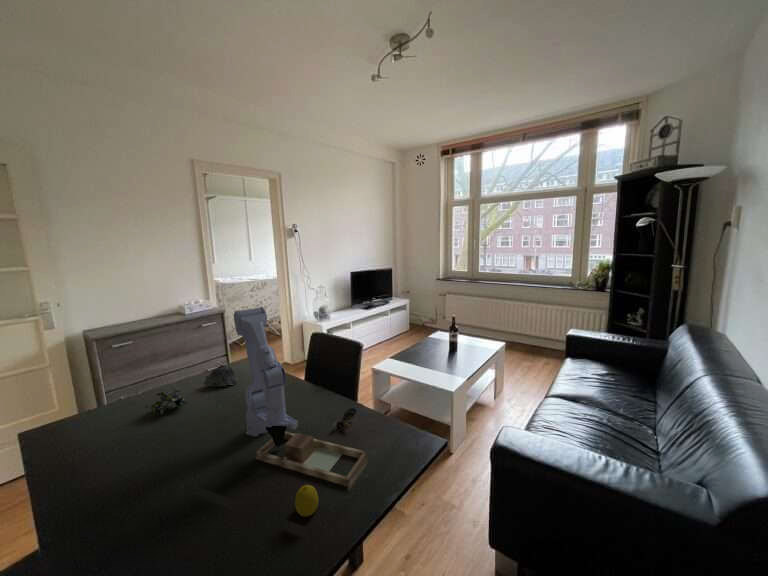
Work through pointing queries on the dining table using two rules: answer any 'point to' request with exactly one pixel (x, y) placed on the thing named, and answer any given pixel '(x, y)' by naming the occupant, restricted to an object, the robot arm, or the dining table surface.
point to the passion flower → (169, 398)
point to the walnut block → (299, 448)
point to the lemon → (306, 500)
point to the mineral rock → (221, 376)
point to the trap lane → (319, 461)
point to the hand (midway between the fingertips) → (279, 444)
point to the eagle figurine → (346, 419)
